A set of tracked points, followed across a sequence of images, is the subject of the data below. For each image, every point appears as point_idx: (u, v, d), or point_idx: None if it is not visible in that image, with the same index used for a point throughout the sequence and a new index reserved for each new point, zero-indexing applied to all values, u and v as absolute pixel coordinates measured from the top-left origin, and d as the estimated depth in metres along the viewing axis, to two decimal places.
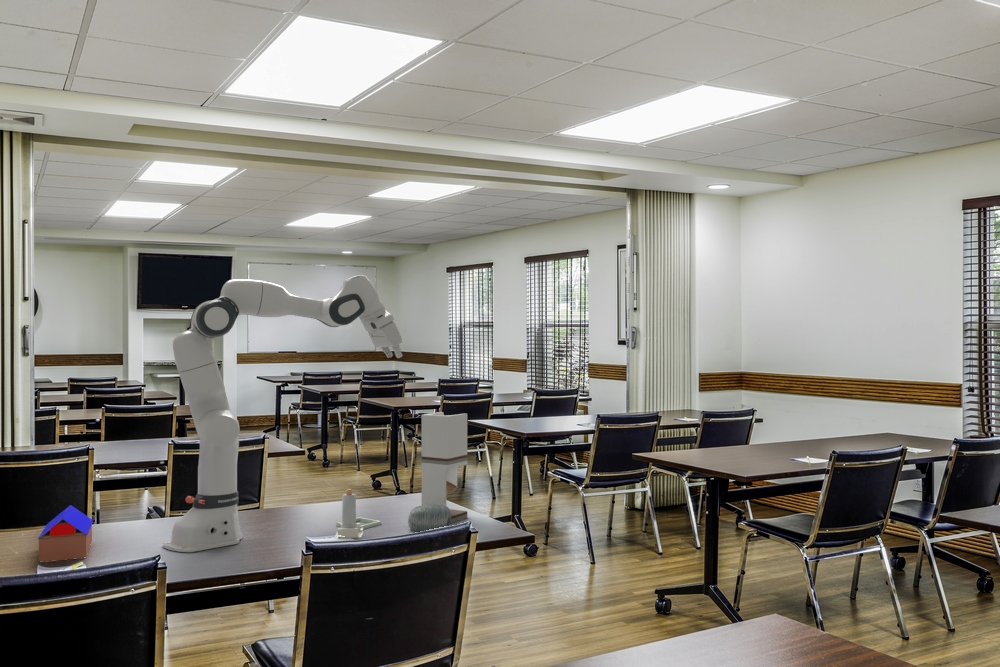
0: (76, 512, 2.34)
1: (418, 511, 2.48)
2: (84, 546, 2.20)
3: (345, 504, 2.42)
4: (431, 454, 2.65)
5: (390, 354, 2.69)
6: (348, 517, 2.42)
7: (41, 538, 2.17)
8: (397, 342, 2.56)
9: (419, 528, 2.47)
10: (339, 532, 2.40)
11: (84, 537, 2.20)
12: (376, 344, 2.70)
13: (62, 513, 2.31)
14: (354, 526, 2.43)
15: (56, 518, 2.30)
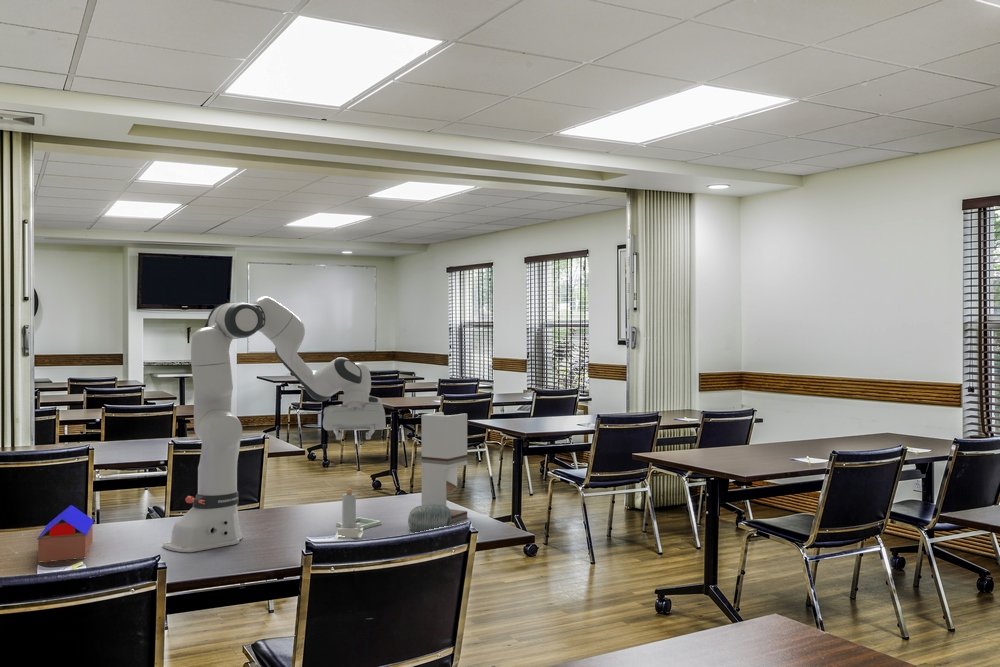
0: (76, 512, 2.34)
1: (418, 511, 2.48)
2: (83, 546, 2.20)
3: (345, 504, 2.42)
4: (431, 454, 2.65)
5: (340, 436, 2.57)
6: (348, 517, 2.42)
7: (41, 538, 2.17)
8: (385, 424, 2.61)
9: (419, 528, 2.47)
10: (339, 532, 2.40)
11: (83, 537, 2.20)
12: (333, 421, 2.59)
13: (62, 513, 2.31)
14: (354, 526, 2.43)
15: (56, 518, 2.30)
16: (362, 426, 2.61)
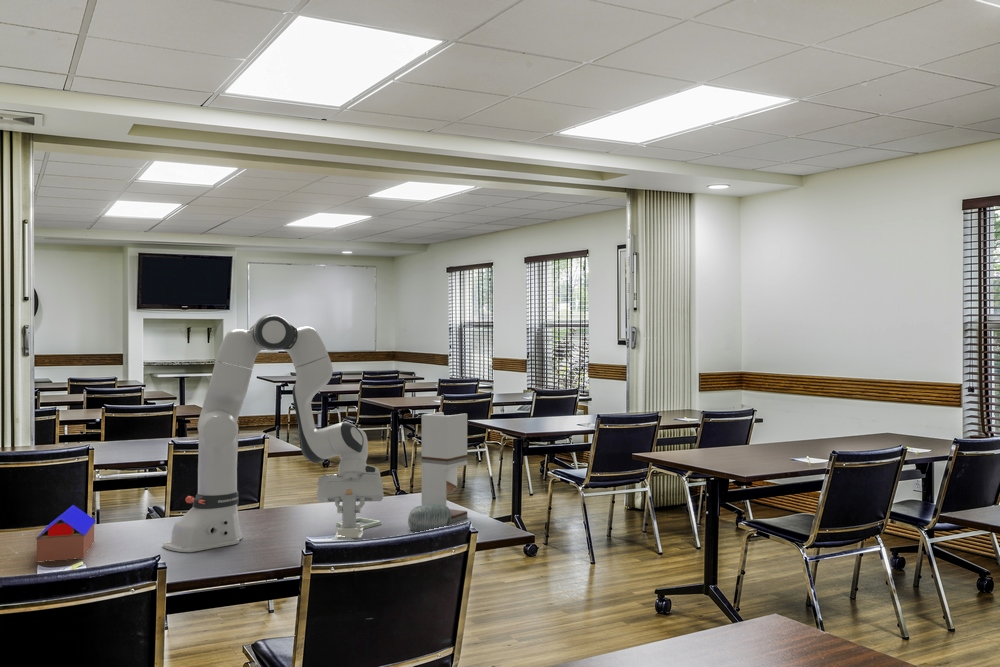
0: (78, 512, 2.34)
1: (418, 511, 2.48)
2: (82, 546, 2.20)
3: (345, 504, 2.42)
4: (431, 454, 2.65)
5: None
6: (348, 517, 2.42)
7: (39, 537, 2.17)
8: (382, 496, 2.48)
9: (419, 528, 2.47)
10: (339, 532, 2.40)
11: (82, 537, 2.20)
12: (327, 492, 2.46)
13: (63, 513, 2.31)
14: (354, 526, 2.43)
15: (57, 518, 2.30)
16: None
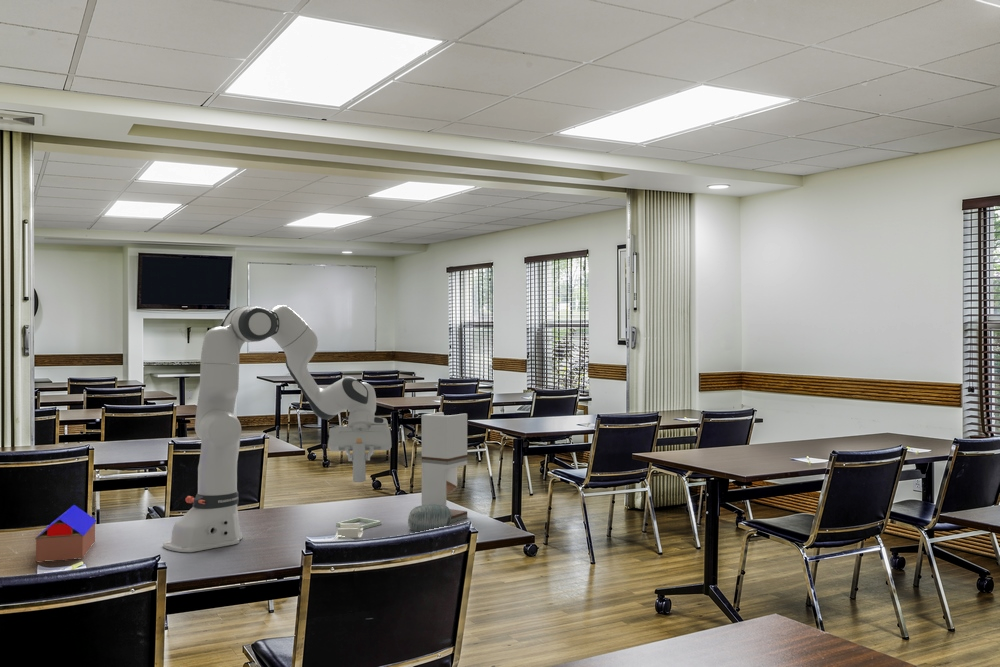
0: (78, 512, 2.34)
1: (418, 511, 2.48)
2: (81, 547, 2.20)
3: (355, 452, 2.54)
4: (431, 454, 2.65)
5: (352, 457, 2.56)
6: (358, 464, 2.54)
7: (38, 537, 2.17)
8: (391, 445, 2.60)
9: (419, 528, 2.47)
10: (339, 532, 2.40)
11: (81, 538, 2.20)
12: (338, 442, 2.58)
13: None
14: (364, 473, 2.55)
15: None
16: None
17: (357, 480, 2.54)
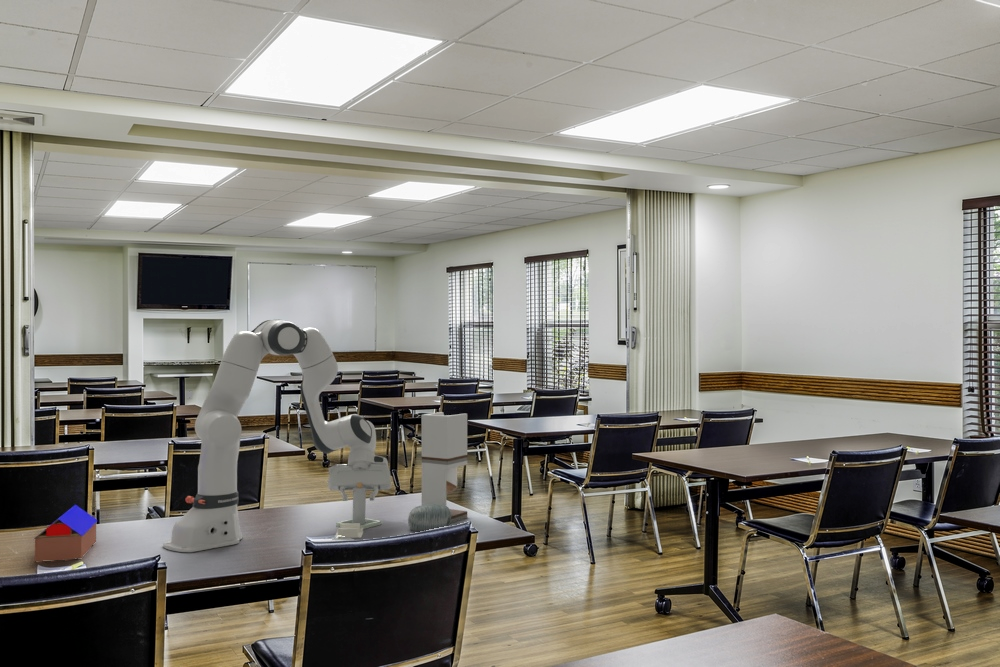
0: (79, 512, 2.34)
1: (418, 511, 2.48)
2: (79, 547, 2.20)
3: (355, 496, 2.54)
4: (431, 454, 2.65)
5: (347, 497, 2.56)
6: (358, 509, 2.54)
7: (37, 537, 2.17)
8: (390, 484, 2.60)
9: (419, 528, 2.47)
10: (339, 532, 2.40)
11: (79, 538, 2.20)
12: (338, 481, 2.58)
13: None
14: (364, 518, 2.55)
15: None
16: (367, 486, 2.60)
17: None
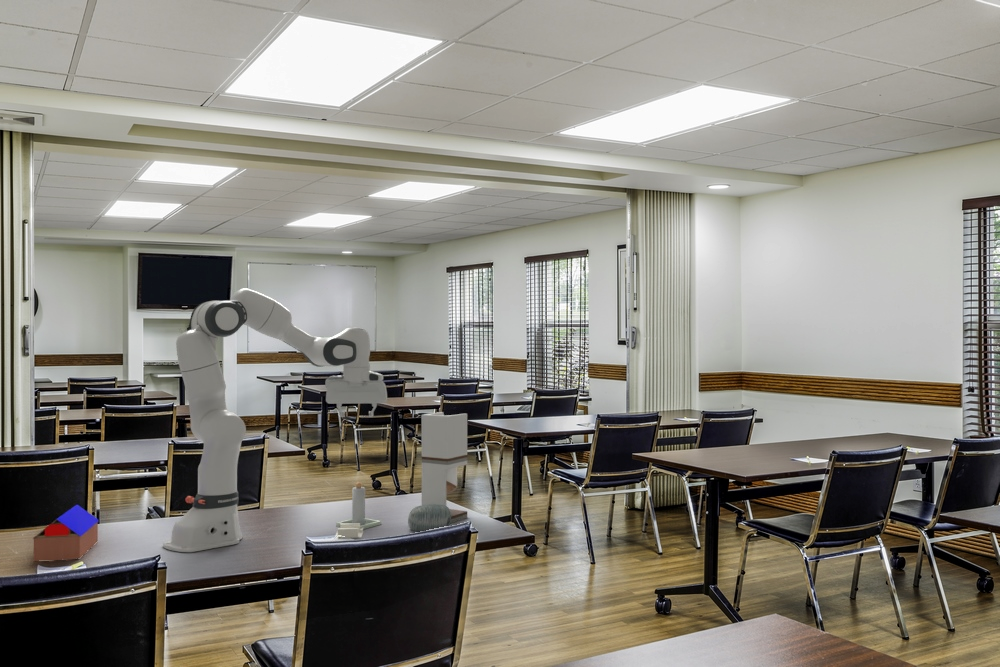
0: (80, 512, 2.34)
1: (418, 511, 2.48)
2: (78, 547, 2.19)
3: (355, 496, 2.54)
4: (431, 454, 2.65)
5: (344, 414, 2.69)
6: (358, 509, 2.54)
7: (36, 537, 2.17)
8: None
9: (419, 528, 2.47)
10: (339, 532, 2.40)
11: (78, 538, 2.19)
12: (335, 400, 2.67)
13: None
14: (363, 518, 2.55)
15: None
16: None
17: None
